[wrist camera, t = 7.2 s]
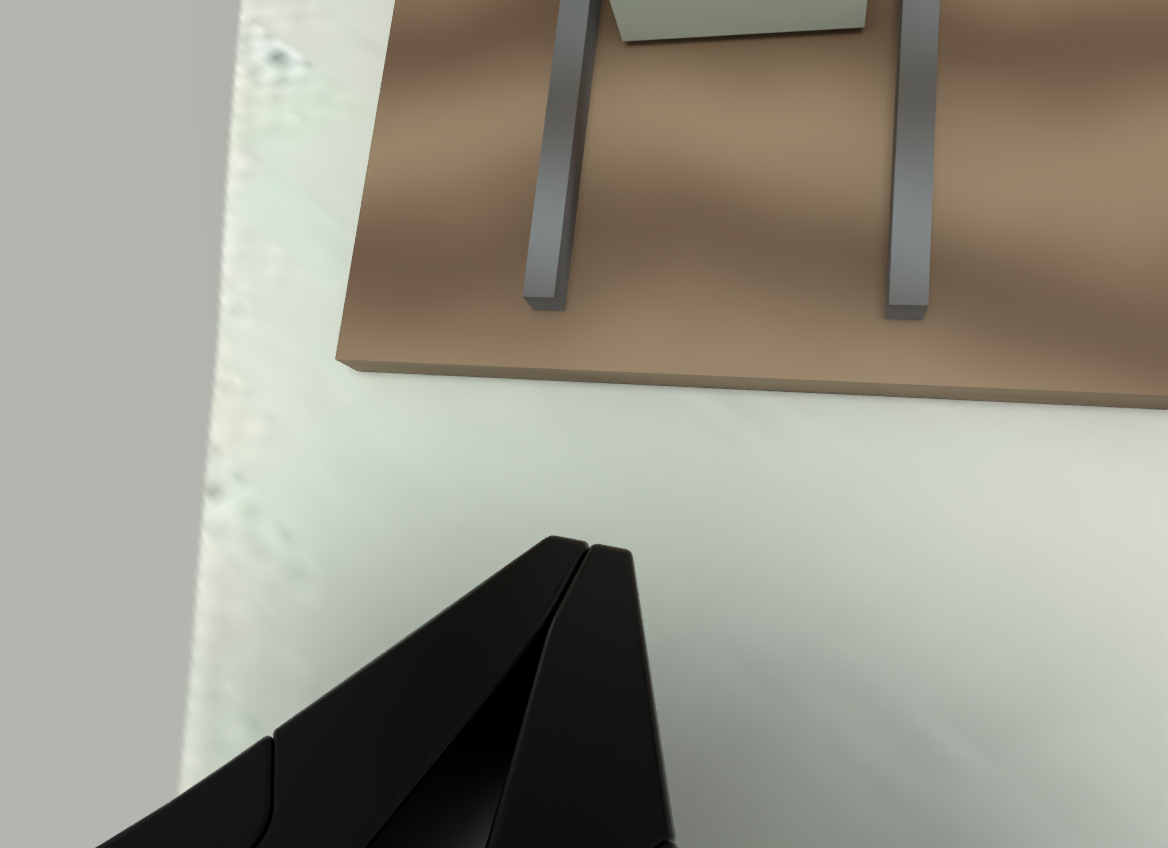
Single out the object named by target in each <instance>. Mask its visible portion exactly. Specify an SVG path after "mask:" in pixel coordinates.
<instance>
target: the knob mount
mask: <svg viewBox="0 0 1168 848" xmlns="http://www.w3.org/2000/svg"><path fill="white" fill-rule="evenodd" d="M335 359H336V360H338V361H340V362H341V363H343V364H345V365H347V366H349V367H351V368H353V369H355V370H356V371H368V372H389V373H410V374H431V375H452V376H473V377H494V378H515V379H536V380H557V381H579V382H600V383H621V384H642V385H663V386H684V387H705V388H726V389H747V390H768V391H790V392H811V393H832V394H853V395H874V396H895V397H916V398H937V399H958V400H979V401H1000V402H1022V403H1043V404H1064V405H1085V406H1106V407H1127V408H1148V409H1168V0H867V8H866V17H865V27H861V28H843V29H826V30H809V31H792V32H775V33H758V34H741V35H723V36H706V37H689V38H672V39H655V40H638V41H622V38H621V34H620V31H619V28H618V25H617V22H616V19H615V16H614V13H613V9H612V6H611V3H610V0H395V5H394V11H393V17H392V23H391V29H390V35H389V41H388V47H387V53H386V59H385V65H384V71H383V76H382V82H381V88H380V94H379V100H378V106H377V112H376V118H375V124H374V130H373V136H372V142H371V148H370V154H369V160H368V166H367V172H366V178H365V184H364V190H363V196H362V202H361V208H360V214H359V220H358V226H357V232H356V238H355V244H354V250H353V256H352V262H351V268H350V274H349V280H348V286H347V292H346V298H345V304H344V310H343V316H342V322H341V327H340V333H339V339H338V345H337V351H336V357H335Z"/></svg>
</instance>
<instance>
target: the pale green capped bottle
mask: <svg viewBox="0 0 1168 848" xmlns="http://www.w3.org/2000/svg"><path fill="white" fill-rule="evenodd" d="M610 3H611V6H612V9H613V13H614V16H615V19H616V22H617V25H618V28H619V31H620V34H621V38H622V41H638V40H655V39H672V38H689V37H706V36H723V35H741V34H758V33H775V32H792V31H809V30H826V29H843V28H861V27H865V17H866V8H867V0H610Z"/></svg>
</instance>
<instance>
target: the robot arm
mask: <svg viewBox="0 0 1168 848" xmlns="http://www.w3.org/2000/svg"><path fill="white" fill-rule="evenodd" d="M96 848H678V847H677V845H676V844H675V830H674V823H673V817H672V810H671V804H670V797H669V790H668V784H667V777H666V771H665V764H664V757H663V751H662V744H661V738H660V731H659V725H658V718H657V711H656V705H655V698H654V692H653V685H652V679H651V672H650V665H649V659H648V652H647V646H646V639H645V632H644V626H643V619H642V613H641V606H640V600H639V593H638V586H637V580H636V573H635V567H634V560H633V555H632V553H631V552H630V551H629V550H627V549H623V548H618V547H612V546H607V545H602V544H594V545H592V546H591V547H589V545H588V544H587V543H586V542H585V541H581V540H576V539H571V538H565V537H560V536H549V537H546V538H545V539H543V540H542V541H540V542H539V543H538V544H536V545H535V546H533V547H532V548H531V549H529V550H528V551H526V552H525V553H523V554H522V555H521V556H519V557H518V558H516V559H515V560H514V561H512V562H511V563H509V564H508V565H507V566H505V567H504V568H502V569H501V570H499V571H498V572H497V573H495V574H494V575H492V576H491V577H490V578H488V579H487V580H485V581H484V582H483V583H481V584H480V585H478V586H477V587H476V588H474V589H473V590H471V591H470V592H468V593H467V594H466V595H464V596H463V597H461V598H460V599H459V600H457V601H456V602H454V603H453V604H452V605H450V606H449V607H447V608H446V609H445V610H443V611H442V612H440V613H439V614H437V615H436V616H435V617H433V618H432V619H430V620H429V621H428V622H426V623H425V624H423V625H422V626H421V627H419V628H418V629H416V630H415V631H413V632H412V633H411V634H409V635H408V636H406V637H405V638H404V639H402V640H401V641H399V642H398V643H397V644H395V645H394V646H392V647H391V648H390V649H388V650H387V651H385V652H384V653H382V654H381V655H380V656H378V657H377V658H375V659H374V660H373V661H371V662H370V663H368V664H367V665H366V666H364V667H363V668H361V669H360V670H358V671H357V672H356V673H354V674H353V675H351V676H350V677H349V678H347V679H346V680H344V681H343V682H342V683H340V684H339V685H337V686H336V687H335V688H333V689H332V690H330V691H329V692H327V693H326V694H325V695H323V696H322V697H320V698H319V699H318V700H316V701H315V702H313V703H312V704H311V705H309V706H308V707H306V708H305V709H304V710H302V711H301V712H299V713H298V714H296V715H295V716H294V717H292V718H291V719H289V720H288V721H287V722H285V723H284V724H282V725H281V726H280V727H278V728H277V729H276V730H275V731H274V733H273V738H272V737H270V736H265V737H263V738H262V739H261V740H259V741H258V742H256V743H255V744H254V745H252V746H251V747H249V748H248V749H247V750H245V751H244V752H242V753H241V754H239V755H238V756H237V757H235V758H234V759H232V760H231V761H230V762H228V763H227V764H225V765H224V766H222V767H221V768H219V769H218V770H216V771H215V772H213V773H212V774H210V775H209V776H207V777H206V778H204V779H203V780H202V781H200V782H199V783H197V784H196V785H194V786H193V787H191V788H190V789H188V790H187V791H185V792H184V793H182V794H181V795H179V796H178V797H176V798H175V799H173V800H172V801H170V802H169V803H167V804H166V805H164V806H162V807H161V808H159V809H158V810H156V811H155V812H153V813H151V814H150V815H148V816H146V817H145V818H143V819H141V820H140V821H138V822H137V823H135V824H134V825H132V826H130V827H129V828H127V829H125V830H124V831H122V832H121V833H119V834H117V835H116V836H114V837H112V838H111V839H109V840H107V841H106V842H104V843H103V844H101V845H99V846H98V847H96Z"/></svg>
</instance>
